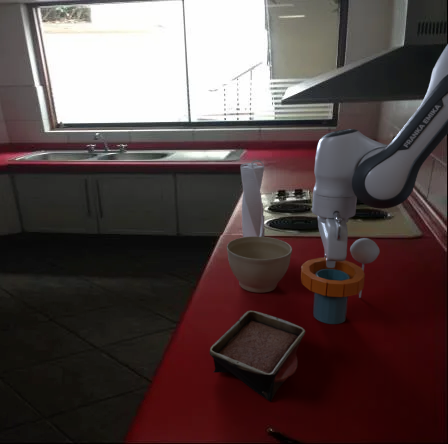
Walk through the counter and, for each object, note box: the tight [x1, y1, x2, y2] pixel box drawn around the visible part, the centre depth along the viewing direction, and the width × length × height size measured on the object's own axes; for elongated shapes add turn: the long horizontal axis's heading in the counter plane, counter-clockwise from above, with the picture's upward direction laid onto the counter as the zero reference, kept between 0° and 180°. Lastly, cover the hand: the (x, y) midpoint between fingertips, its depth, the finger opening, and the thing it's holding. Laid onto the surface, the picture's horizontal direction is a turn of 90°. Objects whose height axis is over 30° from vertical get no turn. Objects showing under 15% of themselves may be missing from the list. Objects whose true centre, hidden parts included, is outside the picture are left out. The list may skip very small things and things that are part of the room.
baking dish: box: [209, 310, 306, 403], centre depth 76 cm, size 14×18×10 cm
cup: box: [312, 269, 350, 325], centre depth 92 cm, size 7×7×10 cm
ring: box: [300, 257, 366, 297], centre depth 90 cm, size 12×12×3 cm
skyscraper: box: [240, 159, 265, 237], centre depth 134 cm, size 8×8×28 cm
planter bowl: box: [226, 236, 293, 294], centre depth 108 cm, size 16×16×11 cm
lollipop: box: [349, 237, 380, 299], centre depth 98 cm, size 6×6×15 cm
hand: (329, 263), depth 95 cm, fingers closed on ring, 2 cm apart
